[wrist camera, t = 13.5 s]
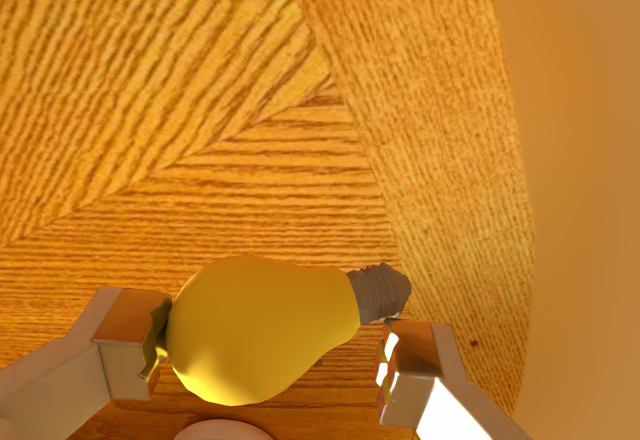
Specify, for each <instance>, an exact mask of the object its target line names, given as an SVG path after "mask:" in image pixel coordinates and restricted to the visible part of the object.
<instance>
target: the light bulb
mask: <svg viewBox="0 0 640 440" xmlns="http://www.w3.org/2000/svg"><path fill="white" fill-rule="evenodd" d="M410 294H411V285H410V282H409V280H408V278H407V276H406V275H402V274H401V273H399V272H398V271H396V270H394V269H393V268H391V267H390V266H388V265H387V264H385V263H384V262H382V263H381V264H380V265H379V266H375V265H373V266H372V267H371V268H369V267H368V266H367V268H366V269H363V268H361V270H360V271H355V270H353V271H350V272H349V273H346V274H345V273H344V272H343V271H341V270H339V269H337V268H335V267H333V266H322V267H308V268H307V267H303V266H299V265H295V264H291V263H287V262H283V261H279V260H275V259H270V258H264V257H259V256H254V255H242V256H230V257H225V258H223V259H220V260H218V261H216V262H213V263H211V264H208V265H206V266H204V267H203V268H202V269H201V270H200V271H198V272H197V273H196V274H195V275H194V276H192V277H191V278H190V279H189V280H188V281H187V282H186V283H185V285H184V286H183V288H182V289H181V291H180V292H179V294H178V296H177V297H176V299H175V300H174V302H173V305H172V308H171V311H170V315H169V319H168V323H167V327H166V331H165V336H166V348H167V352H168V357H169V361H170V363H171V365H172V367H173V370H174V371H175V373H176V374H177V375H178V377H179V378H180V380H181V381H182V382H183V384H184V385H185V387H186V388H187V389H188V390H190V391H191V392H193V393H195V394H196V395H198V396H199V397H201V398H202V399H204V400H206V401H208V402H213V403H218V404H223V405H228V406H237V405H244V404H252V403H260V402H263V401H265V400H267V399H269V398H271V397H273V396H275V395H277V394H279V393H282V392H283V391H284V390H286V389H287V388H288V387H289V386H290V385H291V384H293V383H294V382H295V381H296V380H297V379H298V378H299V377H301V376H302V375H303V374H304V373H305V372H306V371H307V370H308V369H309V368H310V367H311V366H312V365H313V364H314V363H315V362H316V361H317V360H319V359H320V358H321V357H322V356H323V355H324V354H325V353H326V352H327V351H328V350H330V349H332V348H335V347H337V346H339V345H341V344H343V343H345V342H347V341H349V340H350V339H351V338H352V337H353V336H354V334H355V333H356V331H357V329H358V328H359V326H360V325H368V324H369V323H370V322H372V321H374V322H375V323H376V322H377V321H378V320H380V321H382V320H383V319H385V318H387V317H388V318H390V317H391V316H394V317H397V316H399V315H400V314H401V312H402V310H403V308H404V306H405V304H406V301H407V299H408V297H409V295H410Z"/></svg>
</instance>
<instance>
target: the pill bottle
mask: <svg viewBox="0 0 640 440" xmlns="http://www.w3.org/2000/svg"><path fill="white" fill-rule="evenodd" d="M174 440H273V439H272V438H271V437H270V436H269V435H268V434H267V433H266V432H264V431H263V430H261V429H259V428H257V427H255V426H253V425H250V424H247V423H244V422H240V421H235V420H228V419H212V420H205V421H201V422H197V423H195V424H192V425H190V426H188V427H186V428H185V429H183V430H182V431H181V432H180V433H179V434H178V435H177V436H176V437H175V438H174Z"/></svg>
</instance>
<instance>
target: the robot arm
mask: <svg viewBox="0 0 640 440" xmlns="http://www.w3.org/2000/svg"><path fill="white" fill-rule="evenodd" d="M172 305H173V304H172V297H171V295H170V294H169V293H162V292H154V291H147V290H139V289H132V288H121V287H114V286H107V285H104V286H103V287H101V288H99V289H98V290H97V292H96V293H95V295H94V296H93V298H92V299H91V301H90V302H89V303H88V305H87V306H86V308H85V309H84V311H83V312H82V313H81V315H80V316H79V318H78V319H77V321H76V322H75V323H74V325H73V326H72V328H71V329H70V331H69V332H68V333H67V335H66V336H65V338H64V339H60V338H56V339H55V340H53V341H51V342H49V343H47V344H46V345H44V346H42V347H40V348H39V349H37V350H35V351H33V352H31V353H30V354H28V355H26V356H24V357H23V358H21V359H19V360H17V361H15V362H14V363H12V364H10V365H8V366H7V367H5V368H3V369H1V370H0V440H66V439H67V438H68V437H69V436H70V435H71V434H73V433H74V432H75V431H76V430H77V429H78V428H80V427H81V426H82V425H83V424H84V423H85V422H86V421H88V420H89V419H90V418H91V417H92V416H93V415H94V414H96V413H97V412H98V411H99V410H100V409H101V408H102V407H104V406H105V405H106V404H107V403H108V402H109V401H110V400H111V399H110V398H116V399H130V400H143V401H150V399H151V396H152V394H153V392H154V389H155V387H156V384H157V382H158V380H159V377H160V369H159V364H161V363H162V362H164V361H165V360H166V359H167V358H168V352H167V348H166V336H165V331H166V327H167V323H168V319H169V313H170V311H171V308H172ZM382 331H383V339H382V340H380V341H379V342H378V346H377V350H376V357H375V381H376V382H377V384H378V385H379V386H380V390H379V393H378V396H377V403H378V413H379V424H380V425H388V426H395V427H403V428H411V429H417V430H416V432H417V434H418V435H419V437H420V438H421V440H532V439H531V438H530V437H529V436H528V435H527V434H526V433H525V432H524V431H523V430H522V429H521V428H520V427H519V426H518V425H517V424H516V423H515V422H514V421H513V420H512V419H511V418H510V417H509V416H508V415H507V414H506V413H505V412H504V411H503V410H502V409H501V408H500V407H499V406H498V405H497V404H496V403H495V402H494V401H493V400H492V399H491V398H490V397H489V396H488V395H487V394H486V393H485V392H484V391H483V390H482V389H481V388H480V387H479V386H478V385H477V384H476V383H473V382H469V379H468V376H467V373H466V370H465V367H464V363H463V360H462V357H461V354H460V350H459V347H458V344H457V341H456V338H455V334H454V331H453V328H452V326H451V325H450V324H448V323H438V322H426V321H417V320H407V319H398V318H388V317H387V318H386V319H385V321H384V324H383V328H382Z"/></svg>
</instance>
